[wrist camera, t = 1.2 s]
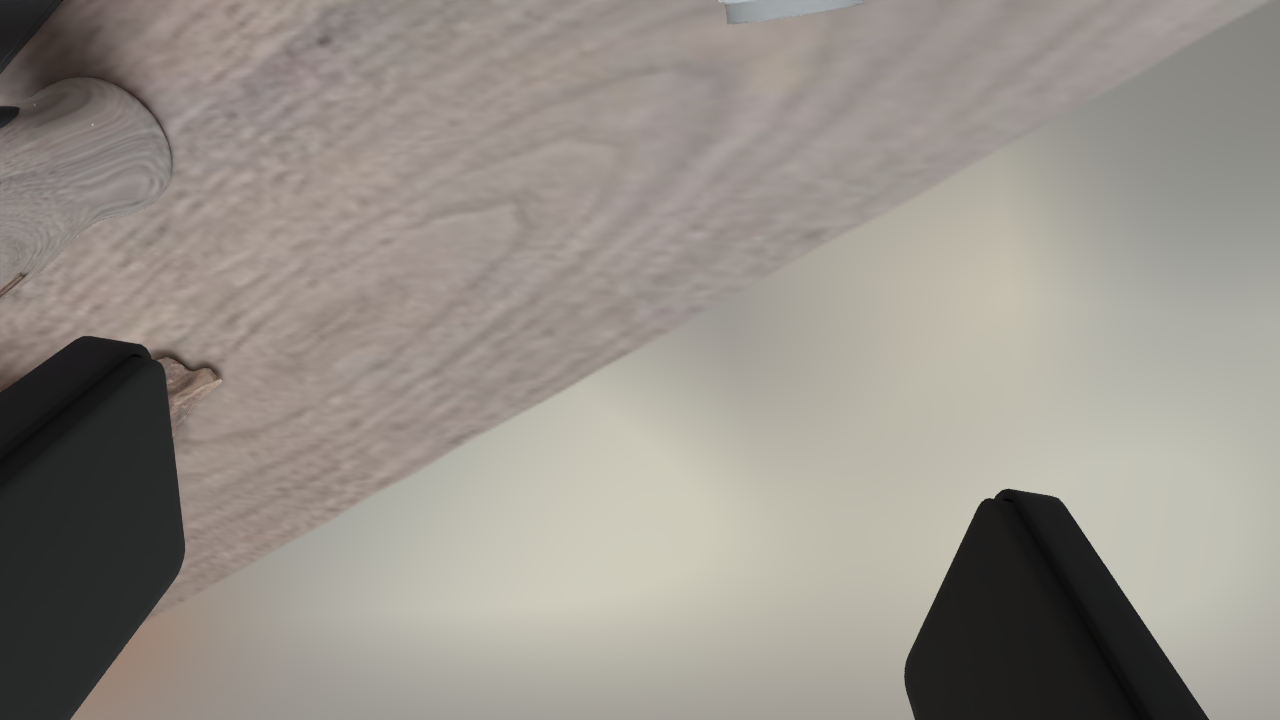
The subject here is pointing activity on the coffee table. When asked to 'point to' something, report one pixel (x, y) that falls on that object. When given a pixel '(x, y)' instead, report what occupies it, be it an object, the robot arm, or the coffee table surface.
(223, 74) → the coffee table surface
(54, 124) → the beer glass
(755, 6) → the headphones
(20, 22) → the charcoal bin
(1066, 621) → the robot arm
